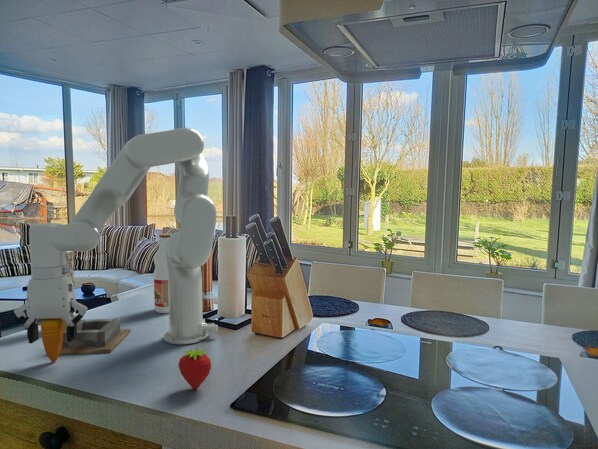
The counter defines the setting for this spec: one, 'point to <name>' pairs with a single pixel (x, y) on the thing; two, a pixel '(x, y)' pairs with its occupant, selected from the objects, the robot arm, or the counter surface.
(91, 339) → the docking stand
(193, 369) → the strawberry
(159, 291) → the fruit juice
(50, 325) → the carrot
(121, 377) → the counter surface
